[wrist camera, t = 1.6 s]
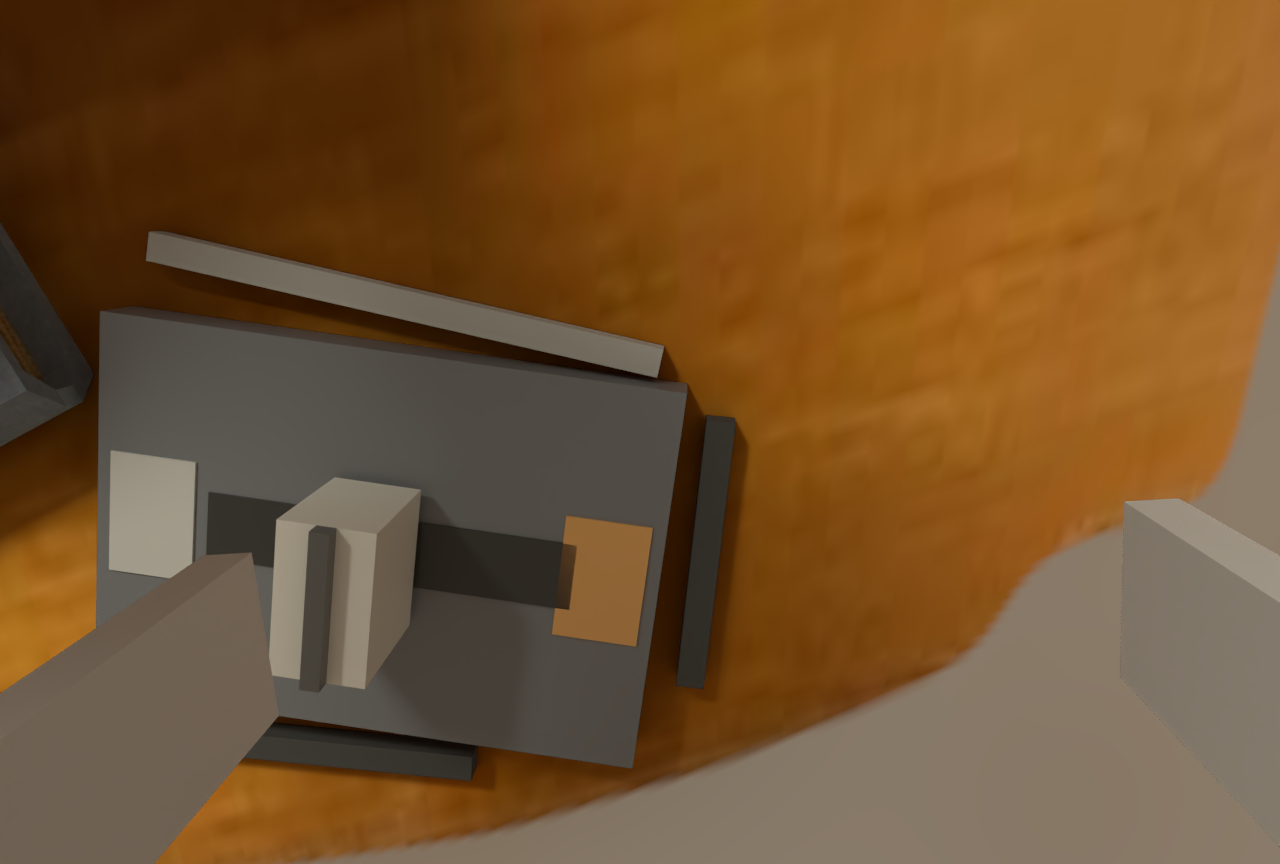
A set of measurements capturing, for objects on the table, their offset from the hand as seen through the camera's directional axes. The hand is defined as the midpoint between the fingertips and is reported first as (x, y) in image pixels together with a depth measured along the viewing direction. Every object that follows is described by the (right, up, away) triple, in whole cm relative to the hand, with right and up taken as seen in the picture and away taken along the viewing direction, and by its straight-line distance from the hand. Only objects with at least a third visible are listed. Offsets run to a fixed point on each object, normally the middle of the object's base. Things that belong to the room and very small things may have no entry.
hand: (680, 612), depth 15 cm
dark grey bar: (-14, -9, +24) cm, 29 cm away
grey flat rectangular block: (-10, -1, +21) cm, 24 cm away
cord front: (-9, +7, +20) cm, 23 cm away
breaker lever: (-10, -2, +19) cm, 22 cm away
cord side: (+2, -2, +21) cm, 21 cm away
